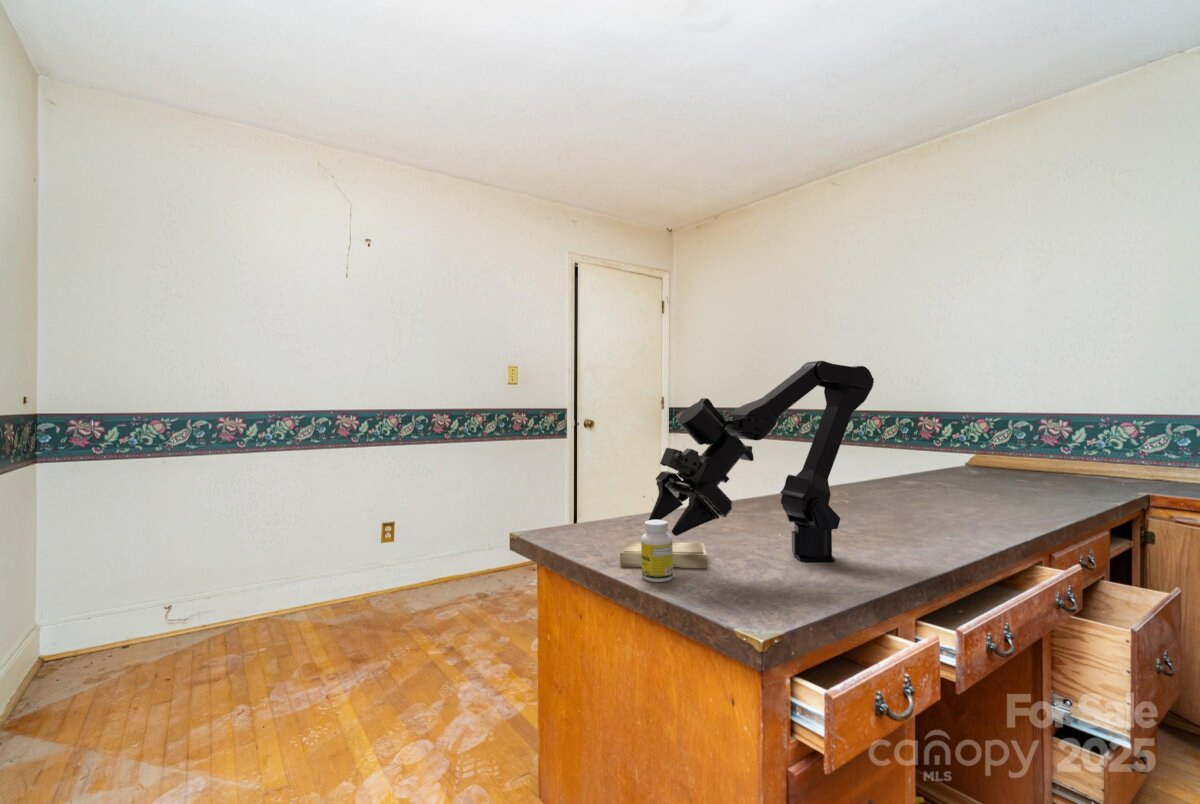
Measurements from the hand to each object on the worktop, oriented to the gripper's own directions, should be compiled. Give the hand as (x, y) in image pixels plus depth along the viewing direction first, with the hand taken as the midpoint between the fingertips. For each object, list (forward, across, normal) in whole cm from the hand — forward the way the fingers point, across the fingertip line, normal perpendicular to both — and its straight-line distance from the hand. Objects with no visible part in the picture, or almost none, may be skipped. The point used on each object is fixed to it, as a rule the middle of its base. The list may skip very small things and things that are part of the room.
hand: (661, 528), depth 95 cm
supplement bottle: (+7, 0, +6) cm, 9 cm away
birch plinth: (+3, -8, +9) cm, 13 cm away
